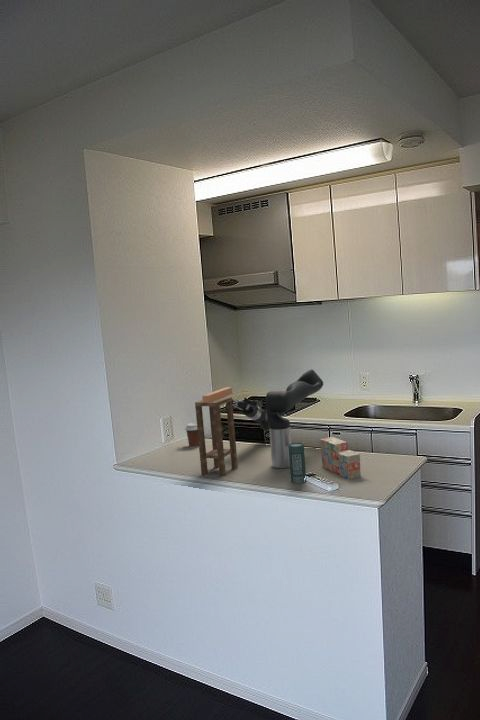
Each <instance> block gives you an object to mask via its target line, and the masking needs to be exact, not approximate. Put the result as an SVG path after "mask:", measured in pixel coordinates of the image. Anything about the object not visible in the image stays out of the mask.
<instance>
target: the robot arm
mask: <svg viewBox="0 0 480 720" xmlns="http://www.w3.org/2000/svg"><path fill="white" fill-rule="evenodd" d="M323 386H324V381H323V379H322V378H321V377H320V376H319V375H318V374H317V373H316V370H313V369H311V368H310V369H309V370H307V371H305V372H303V374H302V375H301V376H300V377H299V378H298V379H297V380H296V381H294V382H292V383H290V384H289V385H288V386H287V387H286V389H285V390H278V391H277V390H275V391H273V390H269V391H268V392H267V393H266V396H265V409H266V410H265V409H262V408H260V406H259V405H260V404H259V403H258V402H257V401H256V400H251V399H249V398H247V397H244V398H243V401H241V400H238V399H237V400H234V399H233V398H232V405H233V410H235V409H239V410H240V412H241V413H242V415H243V416H245V417H247V418H248V419H250V420H252V421H253V422H255V423H258V424H259V427H260V428H261V430H263V431H269V432H268V433H269V444H270V456H271V467H272V468H275V469H287V468H289V469H290V461H289V448H288V445H289V444H291V443H292V435H291V421H290V420H289V419H288V418H286V417H283V415H284V414H285V413H288V412H289V411H291V410H292V409H293V407H295V405H297V404H298V403H300V402H302V401H303V400H305V399H306V398H308V397H309V396H312V395H314V394H317V393H318V392H319V391H321V389H322V388H323Z"/></svg>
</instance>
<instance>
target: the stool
mask: <svg viewBox="0 0 480 720" xmlns="http://www.w3.org/2000/svg"><path fill="white" fill-rule="evenodd" d="M232 399H233V396H225V397H223V398H220V399H218V400H215V401H212V402H210V403H203V399H201V400H199V401H196V402H194V404H195V405H194V407H195V416H196V423H197V430H198V441H199V447H198V449H199V450H198V451H199V461H200V462H199V463H200V469H201V470H200V471H201V476H202V475H203V476H206V474H207V475H208V473H209V472H208V460H207V459H213V467H214V468H216V469H218V475H219V477H222V476H224V477H225V476H227V474H226V473H227V471H226V462H225V457H227V456H229V455H230V465H231V469H234V470H237V469H238V468H239V467H238V453H237V444H236V431H235V428H236V427H235V420H234V418H235V417H234V416H235V415H234V409H233V405H232ZM224 404H225V405H226V416H227V428H228V429H227V431H228V439H229V440H228V441H229V448H224V440H223V428H222V427H223V426H222V418H221V417H222V416H221V415H222V414H221V405H224ZM203 407H208V409H209V410H208V412H209V421H210V422H209V424H210V433H211V434H210V435H211V443H212V450H210V451H208V452H207V450H206V448H207V447H206V436H205V427H204V426H205V425H204V417H203Z"/></svg>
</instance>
